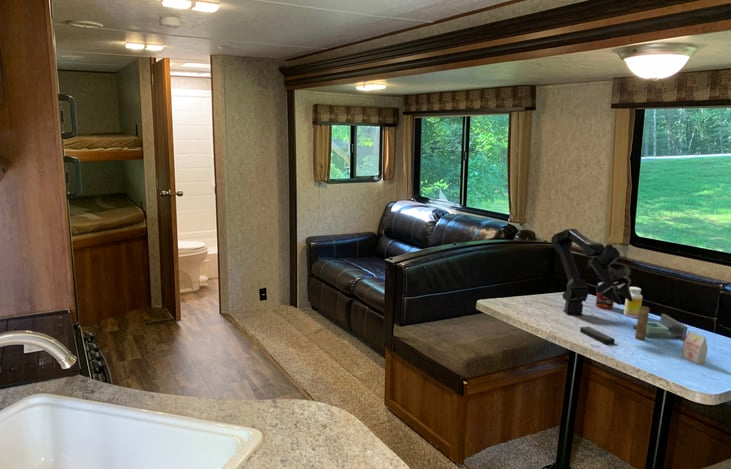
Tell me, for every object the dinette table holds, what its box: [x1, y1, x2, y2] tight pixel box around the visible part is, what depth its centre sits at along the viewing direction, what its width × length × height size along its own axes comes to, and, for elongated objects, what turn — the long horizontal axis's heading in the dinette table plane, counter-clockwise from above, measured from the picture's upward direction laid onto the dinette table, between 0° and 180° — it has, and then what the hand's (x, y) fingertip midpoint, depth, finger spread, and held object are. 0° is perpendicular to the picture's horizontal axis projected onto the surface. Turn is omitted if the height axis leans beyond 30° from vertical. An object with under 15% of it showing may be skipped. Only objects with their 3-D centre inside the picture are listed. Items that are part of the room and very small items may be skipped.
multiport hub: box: [579, 326, 616, 346], centre depth 218 cm, size 4×14×2 cm, turn 19°
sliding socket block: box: [646, 321, 669, 334], centre depth 226 cm, size 8×8×4 cm
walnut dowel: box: [634, 305, 650, 341], centre depth 218 cm, size 4×4×13 cm
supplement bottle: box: [623, 286, 643, 319], centre depth 248 cm, size 7×7×13 cm
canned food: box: [595, 281, 615, 310], centre depth 260 cm, size 8×8×11 cm
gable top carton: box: [680, 330, 708, 365], centre depth 199 cm, size 4×7×10 cm, turn 17°
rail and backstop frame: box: [632, 313, 688, 342], centre depth 226 cm, size 14×16×6 cm
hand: (626, 302), depth 222 cm, fingers open, 9 cm apart
